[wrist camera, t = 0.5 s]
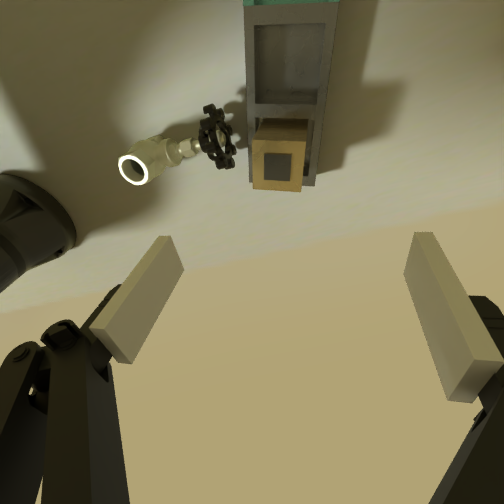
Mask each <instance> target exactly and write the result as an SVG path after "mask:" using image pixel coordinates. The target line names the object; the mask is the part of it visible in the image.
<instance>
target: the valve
mask: <svg viewBox="0 0 504 504" xmlns="http://www.w3.org/2000/svg"><path fill="white" fill-rule="evenodd" d="M203 111H204V114H207V113H209V115H210V117H208V118H205V119H202V120H200V128H199V137H198V140H196V141H195V139H194V138H193V137H192V138H188V139H185V140H182V141H181V142H180V143H178V142H175V141H174V140H173V139H171V138H168V139H164V138H163V137H162V136H160V135H158V136H155V137H152V138H149V139H146V140H141V141H138V142H136V143H135V144H134V145H133V146H132V147H131V148H130V150H129V152H126V153H125V154H123V155H122V156H120V157H119V159H118V162H119V171H120V174H121V175H122V176H123V177H124V178H125V179H126V180H127V181H129V182H130V183H132V184H133V185H135V186H137V185H142V184H145V183H148V182H150V181H151V180H152V179H153V178H155V177H157V176H159V175H160V174H162V173H163V171H164V170H165V168H166V166H168V167H174V166H178V165H180V163H181V161H182V158H183V156H185V157H186V158H187V157H191V156H194V155H196V154H198V152H199V150H200V149H202V151H203V152H204V153H207V155H208V157H209V158H210V159H211V160H212V161H215V164H216V167H217V168H218V169H224V168H225V169H231V168H234V167H235V162H234V159H233V158H232V155H236V153H237V151H236V147H235V145H232V143H231V138H230V136H232V134H233V132H232V128H231V126H230V125H227V126H226V124H225V122H224V118H225V115H224V111H223V109H222V108H219V109H216V107H215V105H214V104H210V105H207V106H204V107H203ZM216 124H217V125H218V126H219V128H220V130H217V131H216ZM206 130H208V132H205V131H206ZM224 146H225V153H224V152H223V151H222V149H221V147H224ZM213 153H215V154H216V155H217V156H214V154H213Z"/></svg>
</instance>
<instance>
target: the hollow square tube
mask: <svg viewBox="0 0 504 504" xmlns="http://www.w3.org/2000/svg"><path fill="white" fill-rule="evenodd" d="M308 120H309V119H291V118H265V119H264V120H263V122H262V124H261V125H260V127H259V129H258V130H257V132H256V134H255V135H254V137H253V139H252V171H253V189H260V190H275V191H291V192H301V187H302V178H303V169H304V159H305V149H306V140H307V130H308Z"/></svg>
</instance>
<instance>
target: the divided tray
mask: <svg viewBox="0 0 504 504" xmlns="http://www.w3.org/2000/svg"><path fill="white" fill-rule="evenodd" d="M339 1H340V0H243V6H244V30H245V62H246V94H247V126H248V158H249V182H252V183H253V171H252V139H253V137H254V135H255V134H256V132H257V130H258V129H259V127H260V125H261V124H262V122H263V120H264V119H265V118H291V119H309V120H308V130H307V140H306V149H305V159H304V169H303V178H302V186H315V179H316V172H317V164H318V157H319V149H320V142H321V134H322V126H323V119H324V111H325V104H326V96H327V89H328V81H329V74H330V66H331V59H332V51H333V44H334V36H335V29H336V21H337V14H338V6H339Z"/></svg>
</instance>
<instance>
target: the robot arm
mask: <svg viewBox="0 0 504 504" xmlns="http://www.w3.org/2000/svg"><path fill="white" fill-rule="evenodd" d="M75 241H76V231H75V228H74V225H73V223H72V221H71V219H70V217H69V216H68V214H67V213H66V211H65V210H64V209H63V208H62V206H61V205H60V204H59V203H58V202H57V201H56V200H55V199H54V198H53V197H51V196H50V195H49V194H48V193H47V192H45V191H44V190H43V189H41V188H40V187H38V186H36V185H35V184H33V183H31V182H29V181H27V180H25V179H22V178H20V177H17V176H13V175H7V174H0V293H1V292H2V291H3V290H5V289H6V288H7V287H8V286H9V285H11V284H12V283H13V282H14V281H15V280H16V279H18V278H19V277H20V276H21V275H22V274H24V273H25V272H26V271H28V270H30V269H32V268H35V267H37V266H40V265H42V264H44V263H47V262H49V261H52V260H54V259H56V258H59V257H61V256H62V255H64V254H65V253H66V252H67V251H68V250H69V249H71V248H72V247H73V246H74V244H75ZM183 271H184V268H183V266H182V263H181V261H180V258H179V256H178V253H177V251H176V248H175V246H174V243H173V241H172V238H171V236H159V237H158V238H157V239H156V241H155V242H154V243H153V245H152V246H151V247H150V248H149V250H148V251H147V252H146V254H145V255H144V256H143V258H142V259H141V260H140V262H139V263H138V264H137V265H136V267H135V268H134V269H133V271H132V272H131V273H130V275H129V276H128V277H127V278H126V280H125V281H124V282H123V284H118V285H117V286H116V287H114V288H113V289H112V290H111V291H109V293H108V294H107V295H106V296H105V298H104V300H103V301H102V302H101V303H100V304H99V306H98V307H97V308H96V309H95V310H94V312H93V313H92V314H91V315H90V317H89V318H88V319H87V320H86V322H85V323H84V324H83V325H82V327H81V328H80V329H79V328H78V327H77V325H75V323H74V322H73V321H71V320H62V321H59V322H57V323H55V324H53V325H51V326H50V327H49V328H48V329H47V330H46V331H45V332H44V333H43V335H42V336H41V339H40V340H41V341H42V342H43V343H44V344H45V345H46V346H44V347H40V346H39V345H38V344H37V343H36V342H33V341H29V342H25V343H23V344H21V345H19V346H17V347H16V348H15V349H13V350H12V351H11V352H10V353H9V354H8V355H7V357H6V358H5V360H4V361H3V363H2V365H1V367H0V504H35V502H36V498H37V495H38V491H39V488H40V484H41V480H42V477H43V483H42V496H41V504H130V502H129V493H128V487H127V478H126V471H125V464H124V456H123V449H122V441H121V434H120V427H119V419H118V412H117V405H116V397H115V390H114V382H113V375H112V368H111V365H110V363H109V361H110V359H111V357H112V356H113V357H114V358H115V359H116V361H117V362H118V363H126V364H132V363H133V361H134V359H135V358H136V356H137V354H138V352H139V350H140V349H141V347H142V345H143V343H144V342H145V340H146V338H147V336H148V334H149V332H150V331H151V329H152V327H153V325H154V323H155V322H156V320H157V318H158V316H159V314H160V313H161V311H162V309H163V307H164V305H165V304H166V302H167V300H168V298H169V296H170V294H171V293H172V291H173V289H174V287H175V286H176V284H177V282H178V280H179V278H180V277H181V275H182V273H183ZM404 277H405V280H406V283H407V285H408V288H409V291H410V294H411V297H412V300H413V303H414V306H415V309H416V312H417V314H418V317H419V320H420V323H421V326H422V329H423V332H424V335H425V337H426V340H427V343H428V346H429V349H430V352H431V355H432V358H433V360H434V363H435V366H436V369H437V372H438V375H439V378H440V381H441V383H442V386H443V389H444V392H445V395H446V398H447V400H448V401H456V402H465V403H473V402H474V400H475V399H476V398H477V396H479V399H480V401H481V403H482V405H483V409H482V410H481V411H480V412H479V413H478V415H477V416H476V417H475V418H474V421H475V422H474V424H473V426H472V428H471V429H470V431H469V433H468V434H467V436H466V438H465V440H464V442H463V443H462V445H461V447H460V449H459V450H458V452H457V454H456V456H455V458H454V459H453V461H452V463H451V465H450V466H449V468H448V470H447V472H446V473H445V475H444V477H443V479H442V481H441V482H440V484H439V486H438V488H437V489H436V491H435V493H434V495H433V496H432V498H431V500H430V502H429V504H504V315H503V314H502V312H501V311H500V309H499V308H498V306H496V305H495V304H494V303H493V302H492V301H490V300H489V299H488V298H487V297H485V296H468V295H467V293H466V291H465V290H464V288H463V286H462V284H461V282H460V281H459V279H458V277H457V276H456V273H455V272H454V270H453V268H452V266H451V265H450V263H449V261H448V259H447V257H446V256H445V254H444V252H443V250H442V248H441V247H440V245H439V243H438V241H437V240H436V238H435V236H434V234H433V232H415V233H414V236H413V240H412V243H411V247H410V251H409V255H408V259H407V262H406V266H405V270H404ZM31 387H32V388H33V392H32V394H31V395H29V391H30V388H31Z"/></svg>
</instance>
